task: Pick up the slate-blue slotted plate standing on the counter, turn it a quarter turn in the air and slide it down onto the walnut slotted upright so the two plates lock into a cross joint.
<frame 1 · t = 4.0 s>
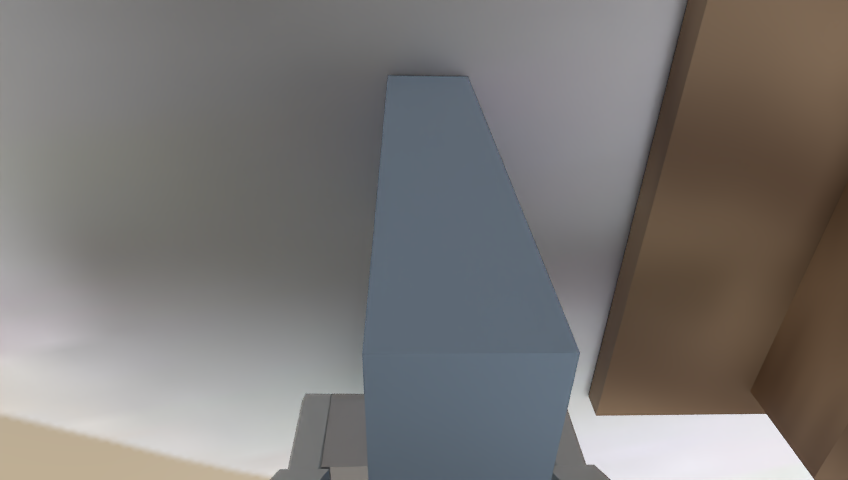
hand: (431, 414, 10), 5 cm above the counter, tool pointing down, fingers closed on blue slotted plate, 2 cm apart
blue slotted plate: (423, 268, 15), on the counter, touching gripper
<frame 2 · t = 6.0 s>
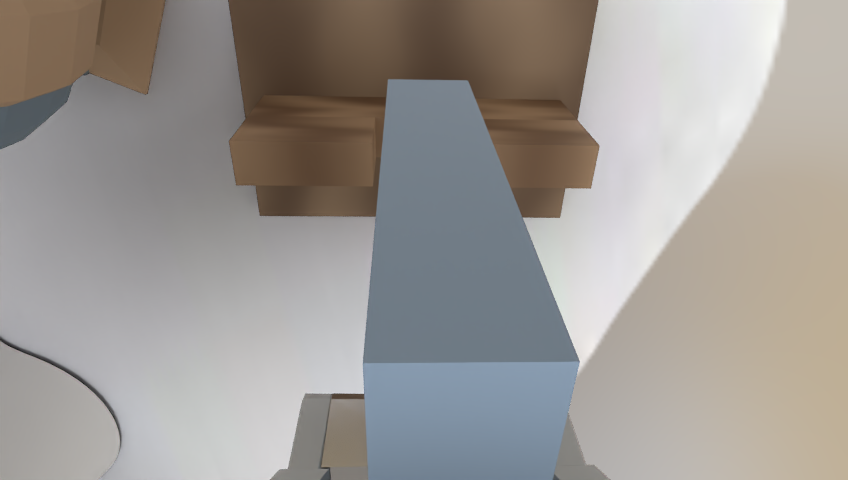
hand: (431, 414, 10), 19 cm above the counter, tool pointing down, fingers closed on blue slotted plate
walnut joint base: (413, 111, 27), on the counter
blue slotted plate: (423, 271, 15), point 14 cm above the counter, touching gripper
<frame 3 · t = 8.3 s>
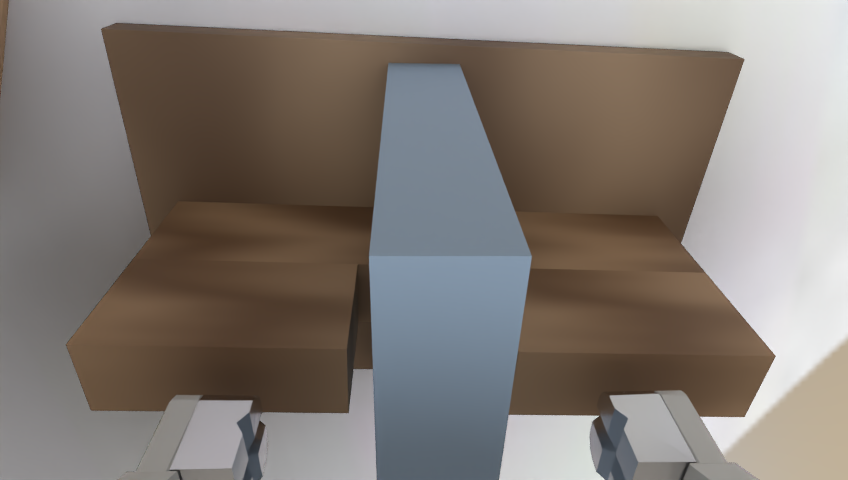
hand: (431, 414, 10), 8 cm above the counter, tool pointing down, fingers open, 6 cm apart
walnut joint base: (421, 222, 17), on the counter
blue slotted plate: (420, 240, 16), point 1 cm above the counter, touching walnut joint base
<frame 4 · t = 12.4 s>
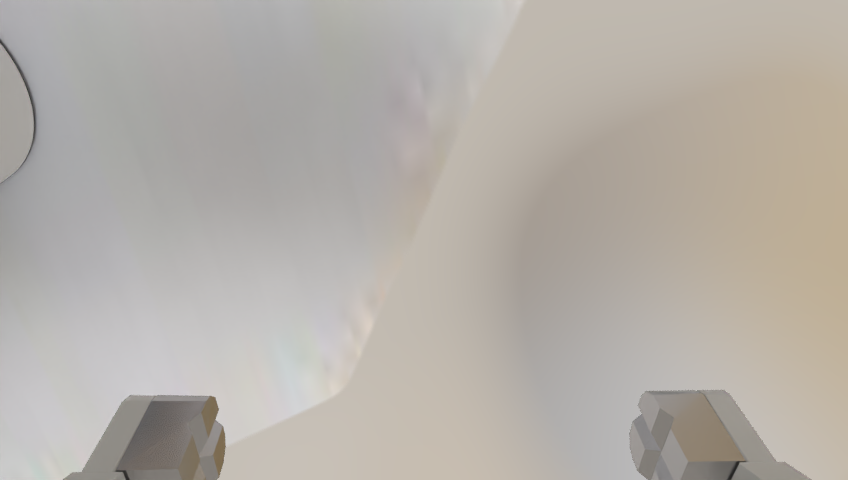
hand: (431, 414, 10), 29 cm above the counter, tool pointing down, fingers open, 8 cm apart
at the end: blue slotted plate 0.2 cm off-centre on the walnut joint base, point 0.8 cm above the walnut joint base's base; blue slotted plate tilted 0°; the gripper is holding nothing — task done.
